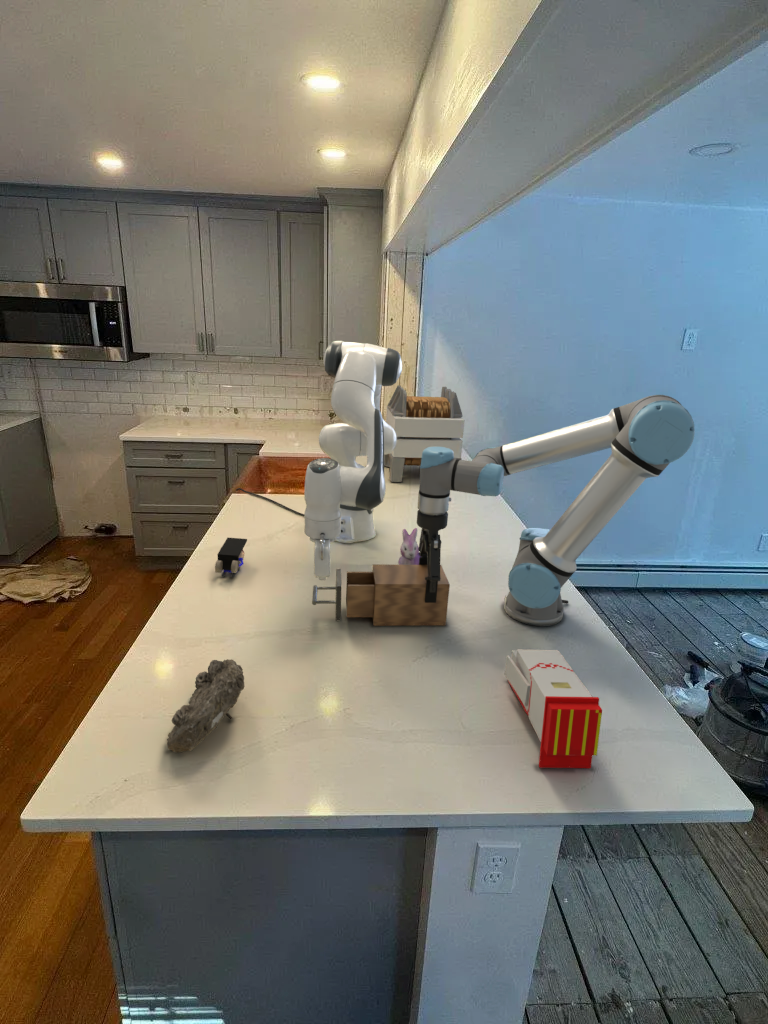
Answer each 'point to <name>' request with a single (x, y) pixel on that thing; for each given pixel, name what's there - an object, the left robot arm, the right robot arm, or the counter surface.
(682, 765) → the counter surface
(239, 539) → the figurine character
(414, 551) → the figurine
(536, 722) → the toy
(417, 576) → the cabinet
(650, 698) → the counter surface
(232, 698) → the fossil
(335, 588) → the drawer
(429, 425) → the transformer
